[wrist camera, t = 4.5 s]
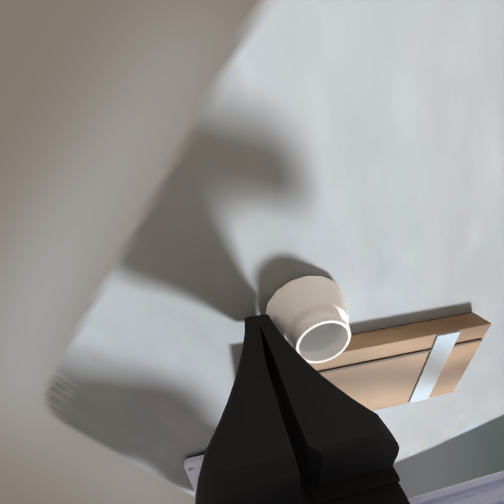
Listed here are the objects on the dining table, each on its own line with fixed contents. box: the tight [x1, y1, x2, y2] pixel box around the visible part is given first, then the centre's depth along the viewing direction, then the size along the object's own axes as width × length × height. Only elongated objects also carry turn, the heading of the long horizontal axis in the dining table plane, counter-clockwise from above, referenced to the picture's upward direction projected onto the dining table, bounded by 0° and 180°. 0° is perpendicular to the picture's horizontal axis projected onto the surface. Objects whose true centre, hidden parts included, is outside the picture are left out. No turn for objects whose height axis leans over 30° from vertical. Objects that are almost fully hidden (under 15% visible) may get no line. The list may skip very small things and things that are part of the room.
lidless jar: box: [265, 276, 351, 363], centre depth 12 cm, size 5×3×5 cm
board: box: [309, 313, 491, 411], centre depth 16 cm, size 8×18×1 cm, turn 94°
